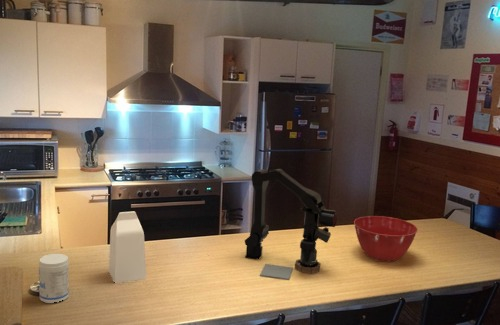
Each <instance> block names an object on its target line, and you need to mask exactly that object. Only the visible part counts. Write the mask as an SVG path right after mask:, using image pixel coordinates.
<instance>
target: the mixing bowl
mask: <svg viewBox="0 0 500 325" xmlns="http://www.w3.org/2000/svg"><path fill="white" fill-rule="evenodd" d="M353 225H354V227H355V233H356V238H357V241H358V244H359V246H360V248H361V250H362V251H363V253H364V254H366V256H368V257H369V258H370V259H372V260H376V261H379V262H386V263H387V262H390V263H391V262H394V261H397V260H399V259H401V258H402V257H404V256H405V254H406V253H407V252H408V250H409V249H410V247H411V246H412V243H413V242H414V239H415V237H416V234H417V233H418V231H419V230H418V229H419V228H418V227H417V226H416V225H415V224H414V223H412V222H410V221H407V220H404V219H400V218H396V217H390V216H384V215H383V216H382V215H380V216H379V215H367V216H360V217H358V218H355V219H354V221H353Z"/></svg>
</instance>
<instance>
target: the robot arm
mask: <svg viewBox="0 0 500 325" xmlns="http://www.w3.org/2000/svg"><path fill="white" fill-rule="evenodd" d="M273 180H277V181H278V182H280V183H281V184H282V185H283V186H285V187H286V189H288V190H290V191H291V192H292V193H294V194H295V196H297V197H298V198H299V200H300V201H301V203H302V204H303V205H304V206H303V207H302V208H300V210H299V211H300V212H303V213H304V218H303V219H304V222H303V227H302V228H303V232H302V238H303V239H301V240H300V243H299V248H300V251H301V250H302V252H303V255H304V258H305V261H306V262H309V258H310V255H311V252H312V251H313V250H315V249H316V247H317V241H318V240H320V241H323V242H324V243H326V244H327V243H328V242H329V240H330V239H331V236H332V234H331V232H329V229H330V228H328V227H331V228H335V227H336V226H337V221H338V217H337V211H336V210H335V209H326V206H325V205H324V203H323V200H322V196H321V194H320V193H318V192H316V191H315V190H313V189H310V188H307V187H305V186H303V185H302V184H301V183H300V182H298V181H297V180H296V179H294V178H293V177H291V176H290V175H289V174H287V172H285V171H284V170H283V169H281V168H277V169H271V170H270V169H269V170H266V169H263V168H262V169H259V170H256V171H254V172H252V174H251V184H252V187H253V189H254V205H253V206H254V208H253V209H254V210H253V211H254V212H253V222H252V226H251V228H250V233H249V236H248V237H247V238H246V239H244V244H245V245H246V250H245V251H246V252H245V256H244V258H246V259H251V260H252V259H253V260H260V259H261V257H262V256H263V246H262V244H263V243H262V242H264V240H265V239H266V238H267V237H268V235H269V234H270V233H269V228H270V226H269V225H270V224H269V225H268V224H266V221H265V217H266V216H265V215H266V213H265V212H266V211H265V210H266V190H267V189H268V188H267V187H268V185H269V181H273ZM319 224H320V225H321V226H325V227H323V228H320V227H319V226H320V225H319ZM326 226H327V227H326Z"/></svg>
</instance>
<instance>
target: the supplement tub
mask: <svg viewBox="0 0 500 325" xmlns="http://www.w3.org/2000/svg"><path fill="white" fill-rule="evenodd" d="M69 267H70V266H69V257H68V255H66V254H63V253H49V254H46V255H42V257H40V258H39V262H38V284H39V285H38V286H39V287H38V288H39V290H38V291H39V300H40V301H41V302H43V303H46V304H55V303H54V302H57V303H60V302H59V301H61V302H63V301H65V300H66V299H67V298H68V297H69V295H70V290H69V289H70V285H69V284H70V283H69V281H70V277H69V275H70V271H69V269H70V268H69ZM62 300H63V301H62Z"/></svg>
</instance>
